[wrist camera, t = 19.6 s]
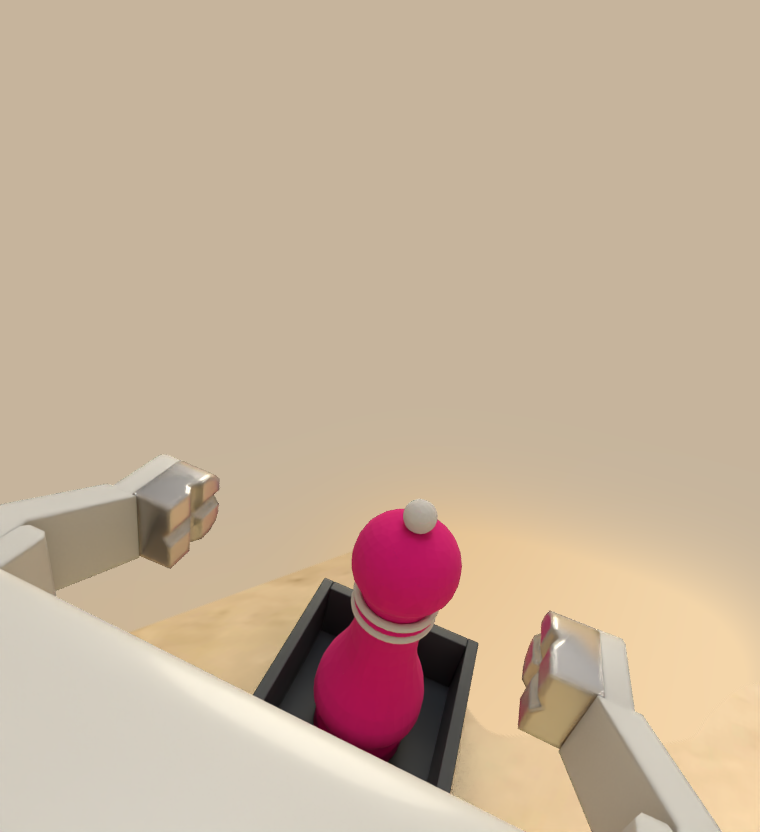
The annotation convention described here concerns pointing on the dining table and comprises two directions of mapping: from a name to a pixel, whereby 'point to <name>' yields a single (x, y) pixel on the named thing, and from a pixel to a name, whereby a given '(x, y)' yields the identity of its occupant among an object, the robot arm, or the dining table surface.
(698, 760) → the dining table surface
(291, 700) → the bin
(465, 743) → the dining table surface
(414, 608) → the pepper mill
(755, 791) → the dining table surface
